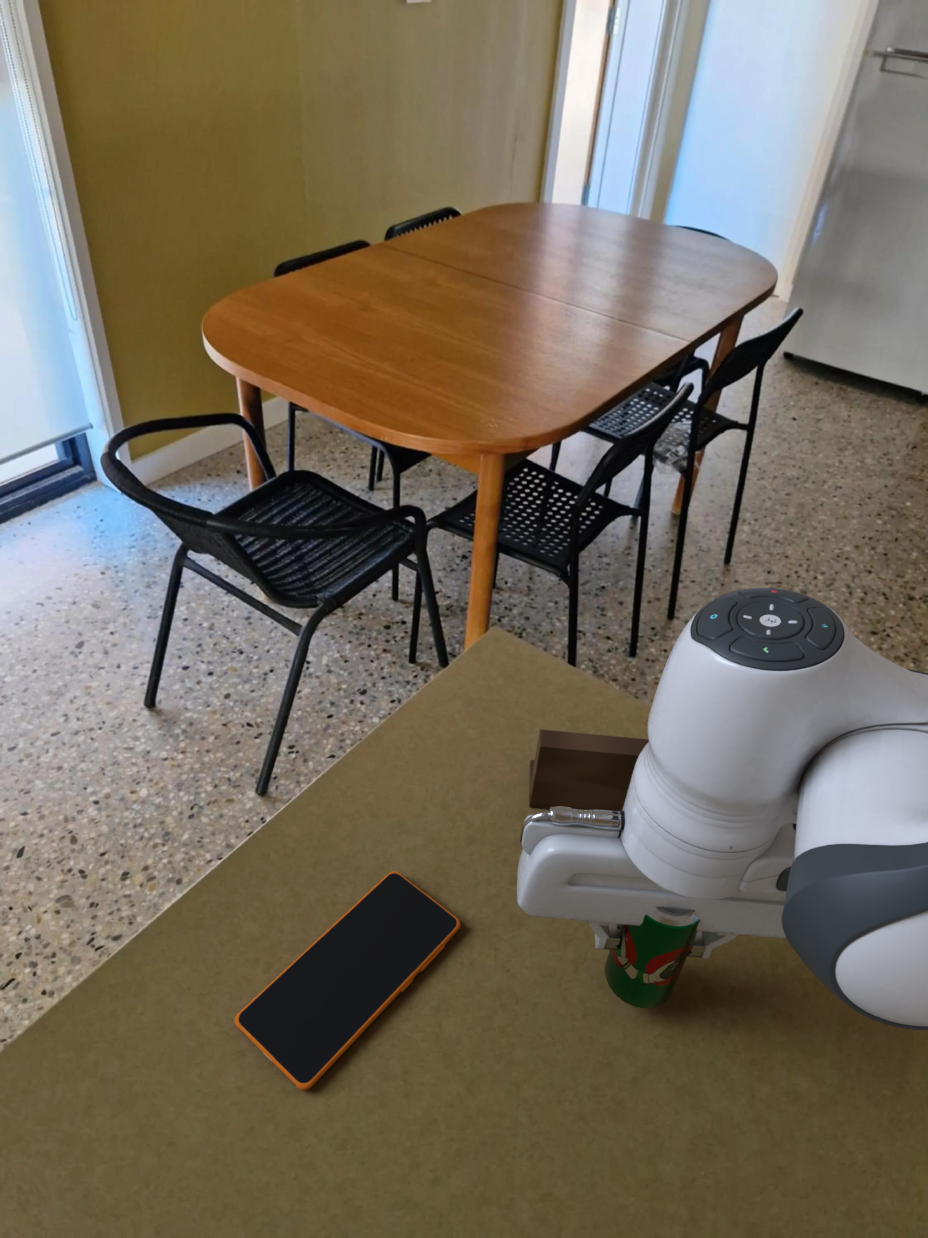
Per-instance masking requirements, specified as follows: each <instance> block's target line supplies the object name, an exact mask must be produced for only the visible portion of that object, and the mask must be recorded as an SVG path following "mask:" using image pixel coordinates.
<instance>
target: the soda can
mask: <svg viewBox="0 0 928 1238" xmlns="http://www.w3.org/2000/svg"><path fill="white" fill-rule="evenodd" d="M656 908H657V909H658V910H656V911H653V912H651V913H649V914H647V915H645V916H644V920H643V923H642V924H641V925H640V926H636V925H624V924H619V927H618V929H619V932H620V936H621V940H620V943H619V945H618V949H617V950H608V954H607V958H606V960H605V964H604V975H605V979H606V982H607V984H608V986H609V988H610V989H611V991H612V993H613V994H614V995H615V996H616V997H617V998H618V999H620V1000H621V1001H622V1002H623V1003H625V1004H627V1005H630V1006H632V1007H634V1008H637V1009H638V1008H639V1009H653V1008H656V1007H659V1006H661V1005H663V1004H664V1003H666V1001H668V1000H669V998H670V997H671V995H672V993H673V992H674V988H675V986H676V984H677V981H678V979H679V977H680V974H681V973H682V970H683V967H684V965H685V963H686V960H687V958H688V957H687V956H688V953H689V951H690V949H691V946H692V944H693V941H694V939H695V937H696V934H697V932H698V931H696V930H697V927H698V925H699V922H700V919H698V918H697V917H696V916H695V915H694V914H693V912H695V910H693V909H690V910H686V911H678V910H669V909H666V908H664V907H660V906H658V907H656Z"/></svg>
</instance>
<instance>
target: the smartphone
mask: <svg viewBox="0 0 928 1238" xmlns="http://www.w3.org/2000/svg"><path fill="white" fill-rule="evenodd" d="M461 925H462V924H461V920H460V919H459V918H458V917H457V916H455V915H454V914H453V913H452V912H451V911H449V910H448V909H447V908H446V907H444V906H442V904H440V903H438V901H436V900H435V899H434V898H433V897H431V896H430V895H429V894H427V893H426V892H424V891H423V890H422V889H420V888H419V886H417V885H416V884H414V882H412V881H411V880H409V879H407V877H405V876H404V875H403V874H402V873H400V872H398V871H396V870H395V871H394V870H393V871H390V872H388V873H386V875H385V876H383V877H382V878H381V879H380V880H379V881H378V882H377V883H376V884H375V885H374V886H373V887H372V888H371V889H370V890H368V892H366V894H364V895H363V896H362V897H361V898H360V899H359V900H358V901H357V902H356V903H355V904H354V905H353V906H351V908H349V910H347V911H346V912H345V913H344V914H343V915H342V916H341V917H339V918H338V919H337V920H336V921H335V922H334V923H333V924H332V925H331V926H330V927H329V928H327V930H325V931H324V933H322V934H321V935H320V936H319V937H318V938H317V939H316V940H315V941H314V942H313V943H311V944H310V946H308V947H307V948H306V949H305V950H304V951H303V952H302V953H301V954H300V955H299V956H298V957H297V958H295V960H293V961H292V962H291V963H289V965H288V966H287V967H286V968H285V969H284V970H283V971H281V972H280V974H278V976H276V977H275V978H274V979H273V980H272V981H271V982H270V983H269V984H268V985H267V986H265V988H263V989H262V990H261V991H260V992H259V993H258V994H257V995H255V997H254V998H252V1000H251V1001H249V1002H248V1004H247V1003H246V1005H245V1006H244V1007H243V1008H242V1009H240V1011H239V1012H237V1014H236V1015H235V1017H234V1025H235V1027H236V1028H237V1029H238V1030H239V1031H240V1032H241V1033H242V1034H243V1035H244V1037H246V1038H247V1040H249V1041H250V1042H251V1043H252V1044H253V1045H254V1046H255V1047H256V1048H257V1049H258V1051H260V1052H261V1053H262V1054H263V1055H264V1056H265V1057H266V1058H267V1059H268V1060H269V1061H270V1062H271V1063H272V1064H273V1065H274V1066H275V1067H276V1068H277V1069H278V1070H279V1071H280V1072H281V1073H282V1074H283V1075H284V1076H285V1077H286V1078H287V1079H288V1081H290V1082H291V1083H292V1084H293V1085H294V1086H295V1087H296V1088H297V1089H298V1090H300V1091H307V1090H310V1089H311V1088H312V1087H313V1086H314V1085H315V1084H316V1083H317V1082H318V1081H319V1079H320V1078H322V1076H323V1075H324V1074H326V1072H327V1071H328V1070H329V1069H330V1068H331V1067H332V1066H333V1065H334V1064H335V1062H336V1061H338V1059H339V1058H340V1057H341V1056H342V1055H343V1054H344V1053H345V1052H346V1051H347V1050H348V1049H349V1048H350V1047H351V1046H352V1045H353V1044H354V1042H355V1041H356V1040H357V1039H359V1037H360V1036H361V1035H362V1034H363V1032H365V1030H367V1028H369V1027H370V1025H371V1024H373V1022H374V1021H375V1020H376V1019H377V1018H378V1017H379V1015H380V1014H382V1012H384V1010H385V1009H386V1008H388V1006H389V1005H390V1004H391V1003H392V1002H393V1001H394V1000H395V999H396V997H398V995H399V994H400V993H403V992H404V991H405V990H406V989H407V988H408V987H409V986H410V985H411V984H412V983H413V982H414V978H415V977H416V976H417V975H418V974H419V973H422V972H423V971H424V970H425V969H426V968H427V967H428V966H429V965H430V964H431V963H432V962H433V960H435V958H436V957H437V956H438V955H439V954H440V953H441V952H442V951H443V950H444V949H445V947H446V944H447V943H448V942H449V941H450V940H451V939H452V938H453V937H454V936H455V935H456V934H457V933H458V931H459V930H460V929H461Z"/></svg>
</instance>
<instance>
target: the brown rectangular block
mask: <svg viewBox="0 0 928 1238" xmlns="http://www.w3.org/2000/svg"><path fill="white" fill-rule="evenodd" d="M648 742H649V739H648V738H640V737H639V738H638V737H628V736H617V735H616V736H615V735H605V734H596V733H595V734H594V733H586V732H585V733H584V732H573V731H562V730H553V729H552V730H551V729H539V733H538V739H537V745H536V750H535V757H534V759H530V760H529V772H528V773H529V775H528V777H529V779H528V782H529V785H528V787H529V788H528V789H529V793H528V794H529V795H528V798H529V799H528V803H529V804H528V806H529V808H533V809H544V810H549V809H550V807H555V806H565V807H571V808H572V809H578V810H579V809H581V810H589V809H591V810H592V809H598V810H610V811H621V812H622V810H623V806H624V802H625V799H626V796H627V792H628V788H629V785H630V781H631V778H632V774H633V771H634V767H635V764H636V761H637V759H638V757H639V755H640V753H641V751H642V750H643V748H644V747H645V746H646V745H647V743H648Z"/></svg>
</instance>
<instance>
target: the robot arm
mask: <svg viewBox="0 0 928 1238" xmlns="http://www.w3.org/2000/svg"><path fill="white" fill-rule="evenodd" d="M647 737H648V738H647V739H649V742H648V743H647V745H646V746H645V747H644V748H643V750H642V751H641V753H640V755H639V757H638V759H637V761H636V764H635V767H634V771H633V774H632V778H631V781H630V785H629V788H628V792H627V796H626V799H625V802H624V806H623V810H622V812H621V811H610V810H598V809H592V810H591V809H589V810H581V809H579V810H578V809H572V808H571V807H565V806H555V807H550V809H548V811H540V812H535V813H534V814H529V815H528V816H526V818H525V819H524V820H523V824H522V826H521V831H520V837H519V842H520V845H521V847H522V850H521V853H520V856H519V860H518V865H517V873H516V874H517V875H516V877H517V878H516V902H517V903H516V904H517V905H518V907H519V908H520V909H521V910H522V911H523V912H524V913H525V914H526V915H528V916H529V917H536V918H544V919H545V918H546V919H547V918H548V919H557V920H558V919H559V920H568V921H581V922H587V925H588V926H589V928H590V929H591V930H592V931H593V933H594V944H595V945H594V946H595V949H596V950H607V951H610V950H617V949H618V945H619V943H620V940H621V936H620V932H619V929H618V927H619V924H624V925H636V926H640V925H641V924H642V923H643V920H644V916H645V915H647V914H649V913H651V912H653V911H656V910H658V909H657V908H656V907H658V906H660V907H664V908H666V909H669V910H678V911H686V910H690V909H693V910H695V912H693V914H694V915H695V916H696V917H697V918H698V919H700V922H699V925H698V927H697V930H696V931H698V932H697V934H696V937H695V939H694V941H693V944H692V946H691V949H690V951H689V953H688V956H687V958H697V959H705V960H707V959H710V956H711V955H712V953H713V950H714V949H716V948H718V947H720V946H722V945H724V944H726V943H728V942H730V941H732V940H734V939H737V937H738V935H739V936H750V937H760V938H761V937H762V938H772V939H782V940H783V939H784V940H787V942H788V943H789V945H790V947H792V949H793V951H794V952H795V953H796V955H797V956H798V957H799V959H800V960H801V961H802V962H803V964H804V965H805V967H806V968H807V969H808V970H809V971H810V972H811V973H812V975H813V976H814V977H815V978H816V979H817V980H818V981H819V982H820V983H821V984H822V985H823V986H824V987H825V988H826V990H828V991H829V992H830V993H831V994H833V995H834V996H835V997H836V998H838V999H839V1000H840V1001H841V1002H842V1003H844V1004H845V1005H846V1006H847V1007H849V1008H851V1009H852V1010H854V1011H855V1012H857V1013H858V1014H861V1016H864V1017H867V1018H869V1019H871V1020H873V1021H875V1022H878V1023H880V1024H883V1025H887V1026H891V1027H894V1028H895V1027H896V1028H898V1029H904V1030H914V1031H928V672H924V671H920V670H916V669H912V668H911V669H910V668H905V667H904V666H901V665H899V664H898V663H895V662H893V661H892V660H890V659H888V658H886V657H884V656H883V655H881V654H879V653H878V652H876V651H875V650H873V649H871V648H870V647H868V645H866V644H865V643H864V642H863V641H861V640H860V639H859V638H857V636H856V635H855V634H854V633H853V632H852V631H851V629H850V628H849V626H848V625H847V623H846V622H845V621H844V619H843V618H842V617H841V616H840V615H839V614H838V613H837V612H836V611H835V610H833V608H832V607H830V606H828V605H827V604H825V603H823V602H822V601H820V600H818V599H816V598H814V597H811V596H810V595H807V594H805V593H801V592H798V591H793V590H789V589H783V588H776V587H750V588H743V589H738V590H734V591H731V592H727V593H724V594H723V595H720V596H718V597H716V598H714V599H713V600H711V601H709V602H708V603H707V604H705V605H704V606H703V607H701V608H700V609H699V610H697V612H695V614H694V615H693V616H692V617H691V618H690V619H689V620H688V622H687V623H686V624H685V626H684V627H683V629H682V631H681V632H680V634H679V636H678V637H677V639H676V641H675V642H674V644H673V646H672V649H671V651H670V653H669V656H668V657H667V660H666V663H665V665H664V668H663V671H662V673H661V676H660V679H659V682H658V684H657V687H656V691H655V694H654V697H653V700H652V704H651V707H650V711H649V714H648V721H647Z"/></svg>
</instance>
